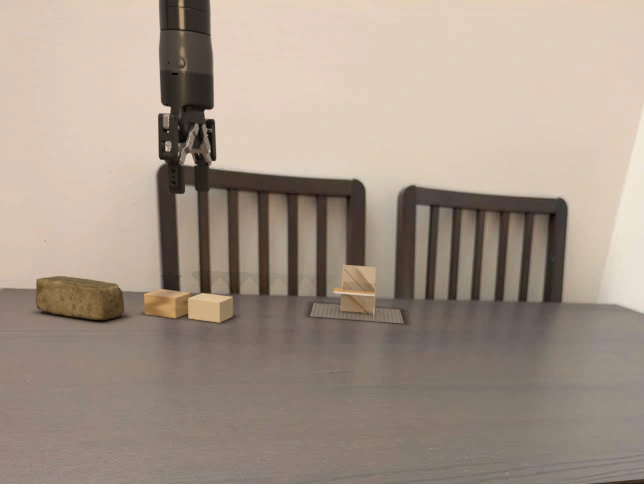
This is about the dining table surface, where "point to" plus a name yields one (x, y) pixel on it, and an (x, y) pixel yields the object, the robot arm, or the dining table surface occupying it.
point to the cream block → (210, 307)
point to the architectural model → (357, 298)
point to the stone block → (79, 297)
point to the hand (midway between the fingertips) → (190, 192)
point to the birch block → (166, 303)
